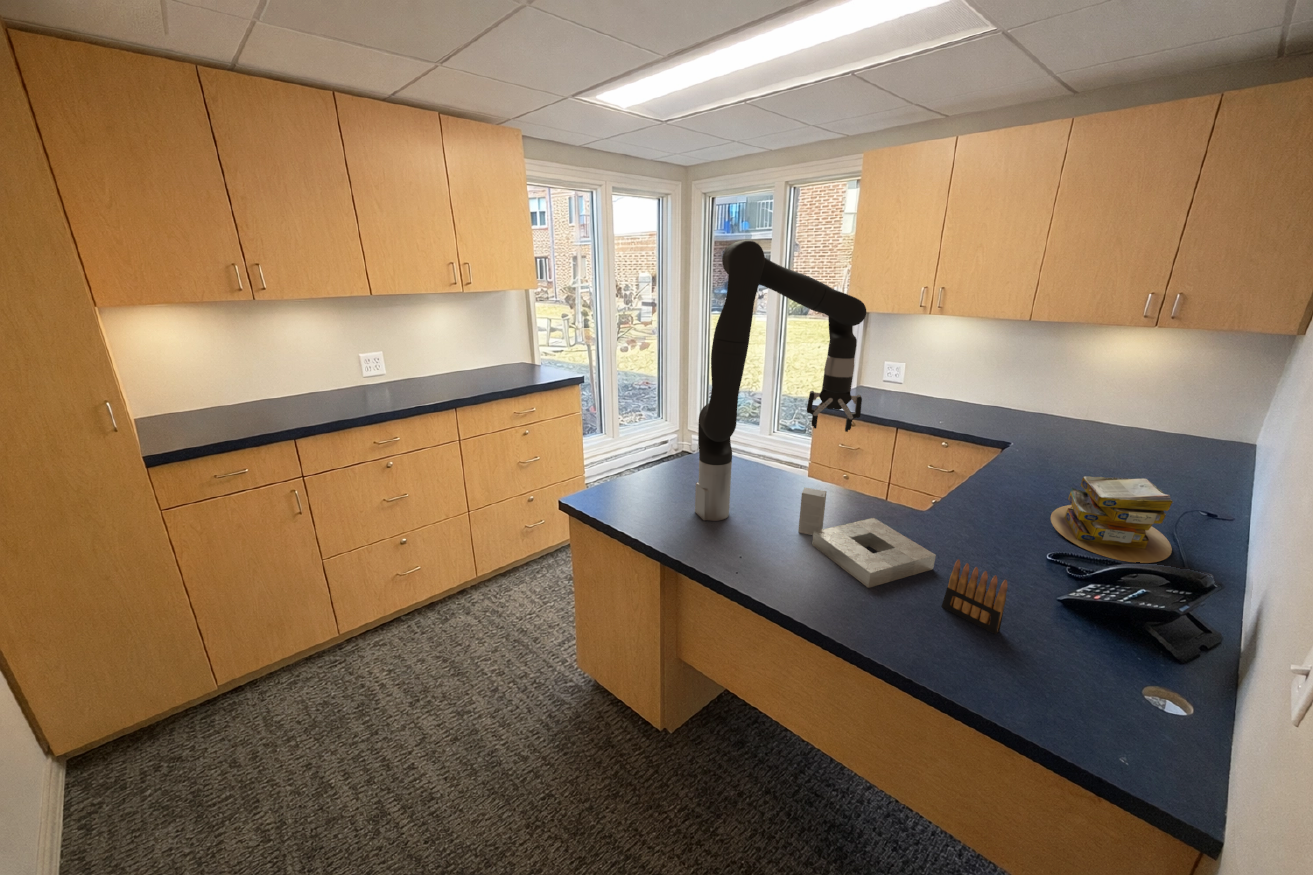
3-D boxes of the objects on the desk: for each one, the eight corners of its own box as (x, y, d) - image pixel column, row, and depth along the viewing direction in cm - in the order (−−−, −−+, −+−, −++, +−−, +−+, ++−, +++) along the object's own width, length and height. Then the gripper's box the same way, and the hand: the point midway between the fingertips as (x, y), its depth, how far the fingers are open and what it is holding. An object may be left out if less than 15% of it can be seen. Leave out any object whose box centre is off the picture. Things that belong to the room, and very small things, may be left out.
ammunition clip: (941, 606, 110) (951, 558, 106) (945, 603, 111) (956, 555, 107) (995, 634, 102) (1009, 583, 98) (999, 630, 103) (1013, 580, 99)
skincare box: (822, 530, 141) (827, 490, 137) (820, 537, 137) (825, 497, 133) (800, 525, 143) (804, 486, 139) (797, 532, 140) (801, 492, 136)
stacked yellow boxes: (1183, 574, 121) (1209, 511, 116) (1055, 546, 133) (1072, 487, 127) (1153, 529, 141) (1173, 474, 136) (1043, 508, 153) (1058, 456, 148)
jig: (868, 587, 116) (870, 572, 115) (812, 544, 134) (813, 531, 132) (932, 569, 123) (935, 554, 122) (871, 530, 141) (873, 517, 139)
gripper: (811, 373, 137) (804, 430, 143) (867, 378, 134) (858, 436, 139) (811, 368, 144) (804, 423, 150) (864, 372, 141) (855, 428, 146)
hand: (830, 429), depth 144 cm, fingers open, 8 cm apart
